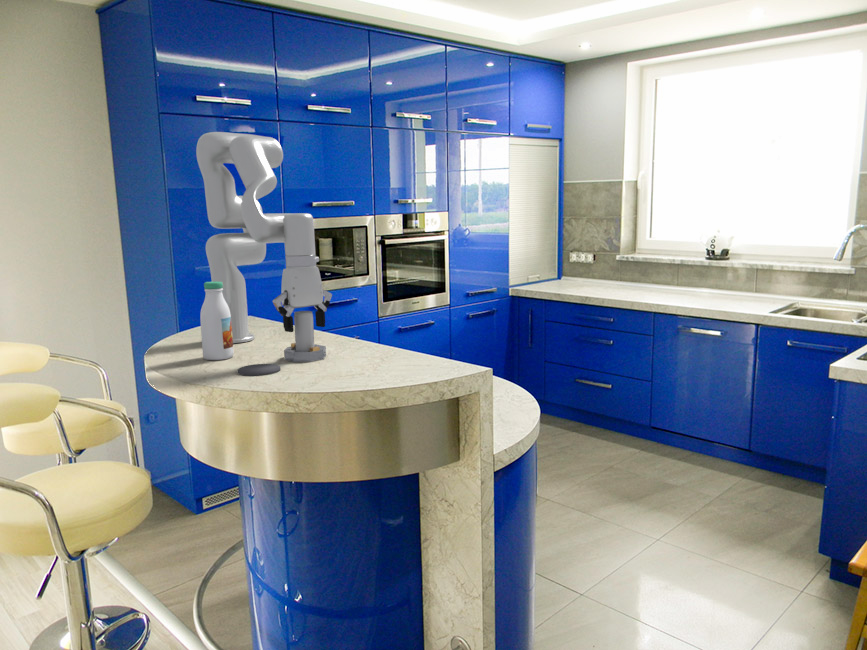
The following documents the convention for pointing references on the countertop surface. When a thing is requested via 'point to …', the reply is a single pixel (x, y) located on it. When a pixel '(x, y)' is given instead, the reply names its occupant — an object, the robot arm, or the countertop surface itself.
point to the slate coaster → (258, 369)
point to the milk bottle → (216, 324)
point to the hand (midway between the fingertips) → (305, 329)
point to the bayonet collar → (305, 353)
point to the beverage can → (304, 330)
